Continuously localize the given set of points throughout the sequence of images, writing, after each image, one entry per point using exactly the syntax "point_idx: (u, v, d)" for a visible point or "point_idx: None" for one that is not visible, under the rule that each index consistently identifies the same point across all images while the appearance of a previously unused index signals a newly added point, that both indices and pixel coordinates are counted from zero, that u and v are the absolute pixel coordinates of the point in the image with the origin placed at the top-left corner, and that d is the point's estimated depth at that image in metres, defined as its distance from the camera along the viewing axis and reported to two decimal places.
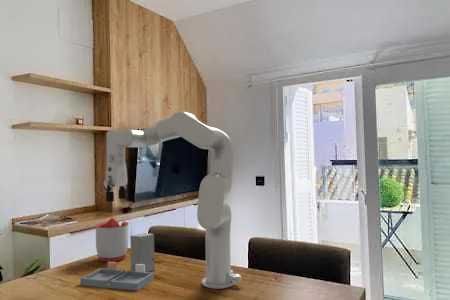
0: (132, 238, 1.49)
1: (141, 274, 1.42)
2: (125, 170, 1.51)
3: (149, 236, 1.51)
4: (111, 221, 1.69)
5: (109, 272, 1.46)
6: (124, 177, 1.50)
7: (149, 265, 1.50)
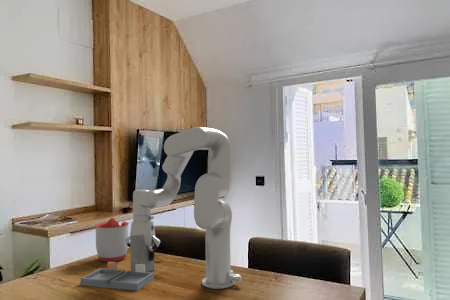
0: (132, 238, 1.49)
1: (141, 274, 1.42)
2: None
3: None
4: (111, 221, 1.69)
5: (109, 272, 1.46)
6: None
7: (149, 265, 1.50)
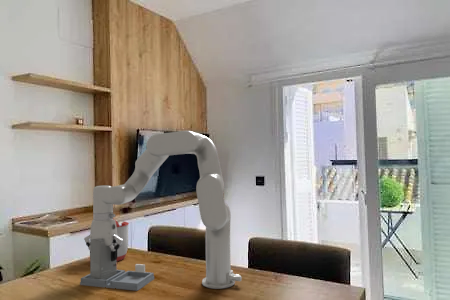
0: (92, 242, 1.39)
1: (141, 274, 1.42)
2: None
3: None
4: None
5: None
6: None
7: (111, 271, 1.40)
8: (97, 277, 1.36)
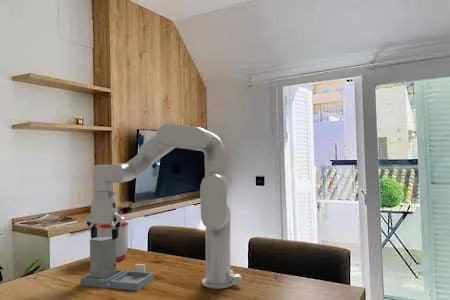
0: (92, 242, 1.38)
1: (141, 274, 1.42)
2: None
3: (111, 240, 1.41)
4: None
5: None
6: None
7: (111, 271, 1.40)
8: (97, 277, 1.36)
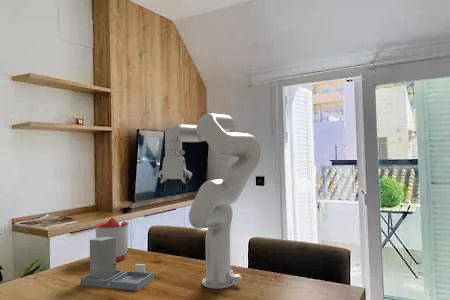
0: (91, 242, 1.38)
1: (141, 274, 1.42)
2: None
3: (110, 240, 1.41)
4: (111, 221, 1.69)
5: None
6: None
7: (111, 271, 1.40)
8: (97, 277, 1.36)
